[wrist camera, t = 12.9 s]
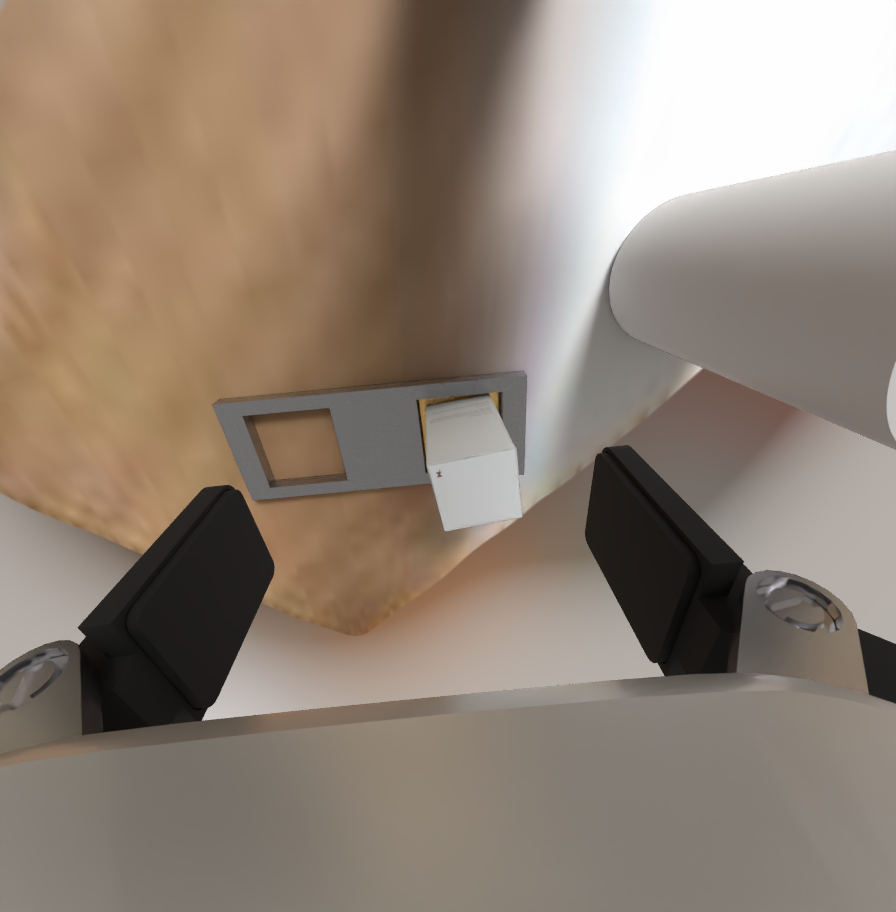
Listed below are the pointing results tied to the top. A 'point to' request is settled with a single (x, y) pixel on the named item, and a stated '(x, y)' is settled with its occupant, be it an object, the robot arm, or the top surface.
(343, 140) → the top surface
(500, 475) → the supplement box
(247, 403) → the grey flat plate
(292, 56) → the top surface
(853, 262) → the cylinder vase
